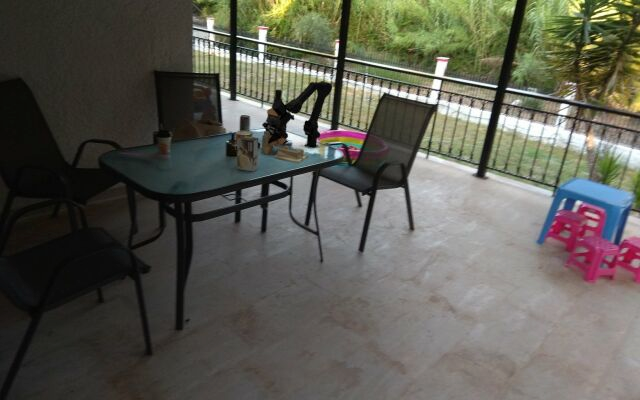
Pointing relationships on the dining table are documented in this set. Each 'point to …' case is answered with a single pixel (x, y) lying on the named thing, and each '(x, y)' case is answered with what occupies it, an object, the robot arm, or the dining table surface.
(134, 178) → the dining table surface
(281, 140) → the whiskey bottle
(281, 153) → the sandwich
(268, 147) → the rail end
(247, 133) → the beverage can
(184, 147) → the dining table surface
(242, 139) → the coffee box
